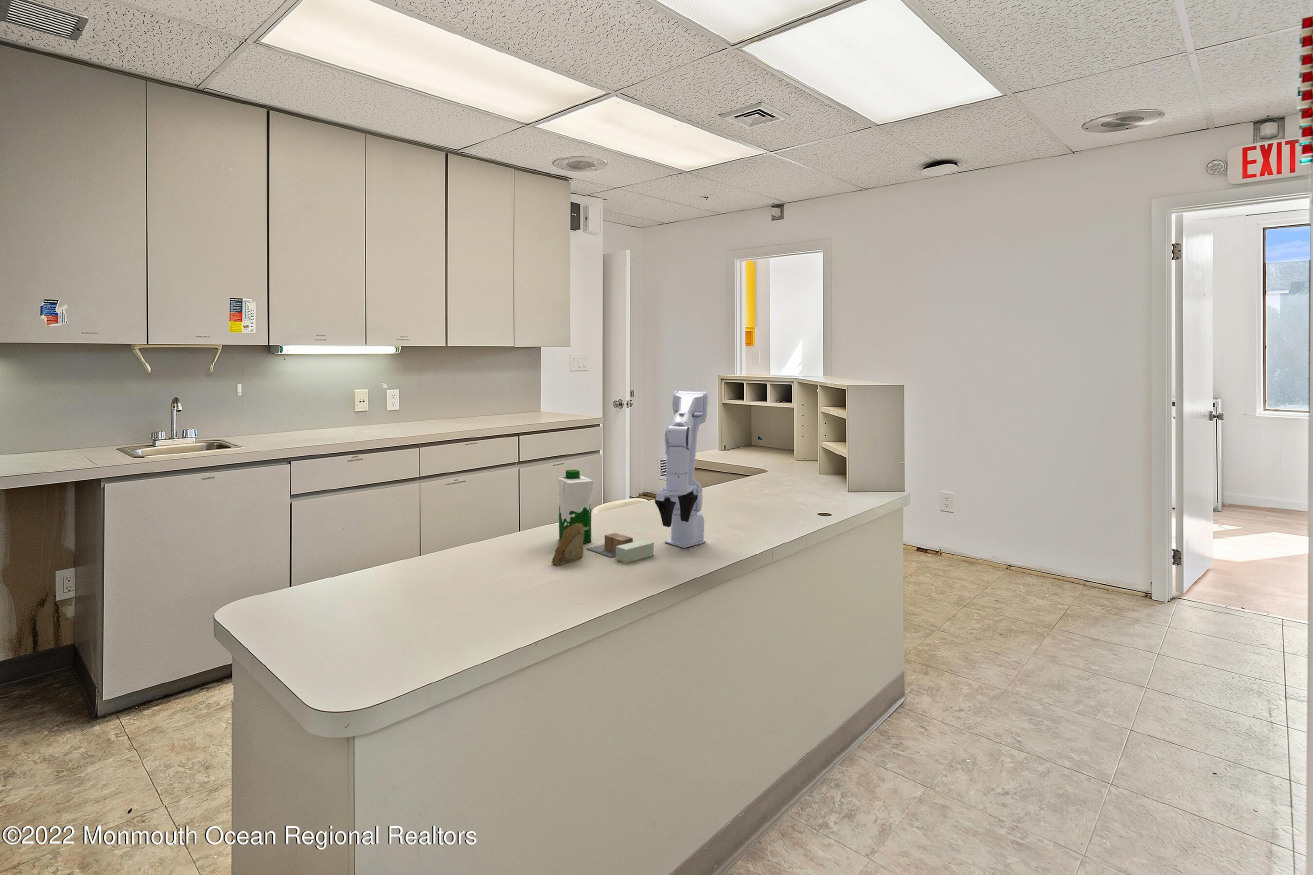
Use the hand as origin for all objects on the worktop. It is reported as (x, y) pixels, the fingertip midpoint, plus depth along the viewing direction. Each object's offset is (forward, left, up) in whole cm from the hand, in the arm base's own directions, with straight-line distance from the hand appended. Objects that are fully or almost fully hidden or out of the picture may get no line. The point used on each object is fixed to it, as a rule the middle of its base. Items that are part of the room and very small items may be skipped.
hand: (675, 523), depth 179 cm
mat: (+6, -18, -10) cm, 21 cm away
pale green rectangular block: (+6, -9, -10) cm, 15 cm away
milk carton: (+8, -32, -10) cm, 34 cm away
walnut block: (+6, -12, -8) cm, 15 cm away
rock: (+21, -19, -10) cm, 30 cm away
